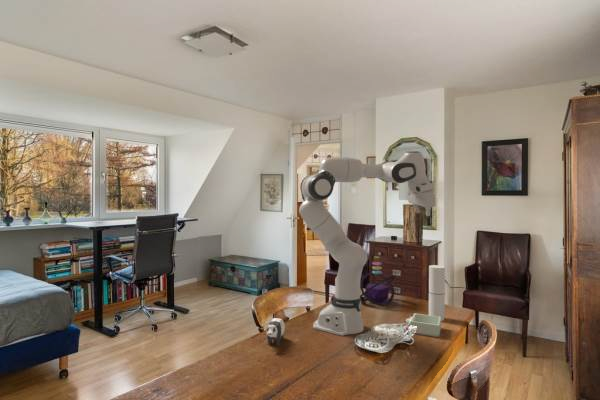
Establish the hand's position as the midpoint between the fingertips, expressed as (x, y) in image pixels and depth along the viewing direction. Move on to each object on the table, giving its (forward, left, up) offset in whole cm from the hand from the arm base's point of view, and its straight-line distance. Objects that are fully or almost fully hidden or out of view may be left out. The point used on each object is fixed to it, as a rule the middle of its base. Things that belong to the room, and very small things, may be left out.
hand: (422, 214), depth 173 cm
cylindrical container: (+6, +6, -51) cm, 51 cm away
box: (+3, -12, -50) cm, 52 cm away
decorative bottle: (-26, +20, -51) cm, 60 cm away
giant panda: (-51, -51, -51) cm, 88 cm away
